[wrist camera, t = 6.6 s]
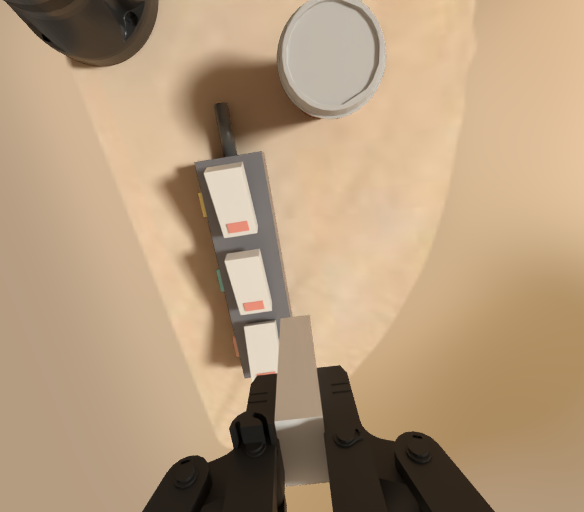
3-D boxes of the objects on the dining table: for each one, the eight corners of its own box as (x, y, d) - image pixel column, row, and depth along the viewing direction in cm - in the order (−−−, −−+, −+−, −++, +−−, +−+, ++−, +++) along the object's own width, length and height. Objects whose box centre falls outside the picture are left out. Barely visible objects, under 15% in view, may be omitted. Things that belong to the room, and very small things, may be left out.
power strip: (187, 113, 38) (173, 105, 33) (255, 101, 37) (250, 92, 33) (244, 363, 47) (240, 383, 43) (299, 356, 47) (300, 375, 43)
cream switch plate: (226, 253, 36) (224, 261, 35) (259, 248, 36) (258, 256, 35) (242, 306, 40) (240, 316, 39) (272, 302, 40) (271, 311, 38)
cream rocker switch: (246, 324, 41) (243, 326, 39) (275, 319, 41) (274, 322, 39) (255, 383, 41) (252, 389, 39) (284, 379, 41) (283, 385, 39)
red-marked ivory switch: (206, 167, 33) (203, 173, 32) (242, 161, 33) (241, 167, 32) (226, 230, 38) (224, 238, 36) (258, 225, 38) (257, 233, 36)
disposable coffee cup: (282, 134, 38) (279, 118, 27) (279, 46, 36) (273, -12, 24) (358, 131, 38) (388, 114, 27) (360, 43, 36) (393, -17, 24)
